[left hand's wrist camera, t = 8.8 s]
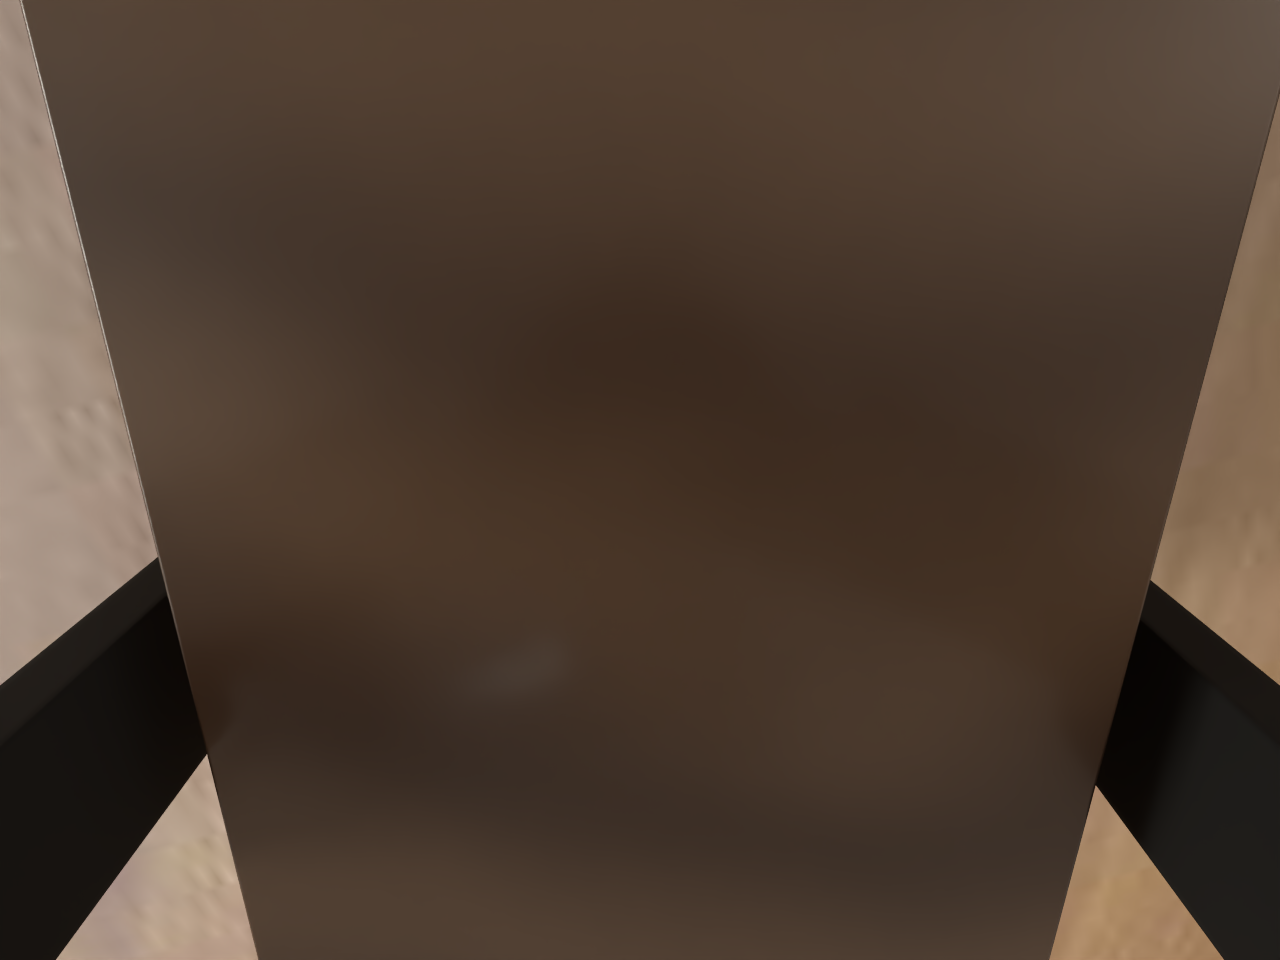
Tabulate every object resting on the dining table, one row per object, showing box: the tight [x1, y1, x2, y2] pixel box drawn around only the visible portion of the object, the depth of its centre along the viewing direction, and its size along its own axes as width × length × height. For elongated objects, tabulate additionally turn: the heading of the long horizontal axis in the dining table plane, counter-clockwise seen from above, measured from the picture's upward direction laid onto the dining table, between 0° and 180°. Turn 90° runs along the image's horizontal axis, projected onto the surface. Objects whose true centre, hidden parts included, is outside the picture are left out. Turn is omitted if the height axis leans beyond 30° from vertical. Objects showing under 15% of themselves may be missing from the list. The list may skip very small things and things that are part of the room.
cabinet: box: [20, 0, 1280, 960], centre depth 12 cm, size 18×10×10 cm, turn 0°
